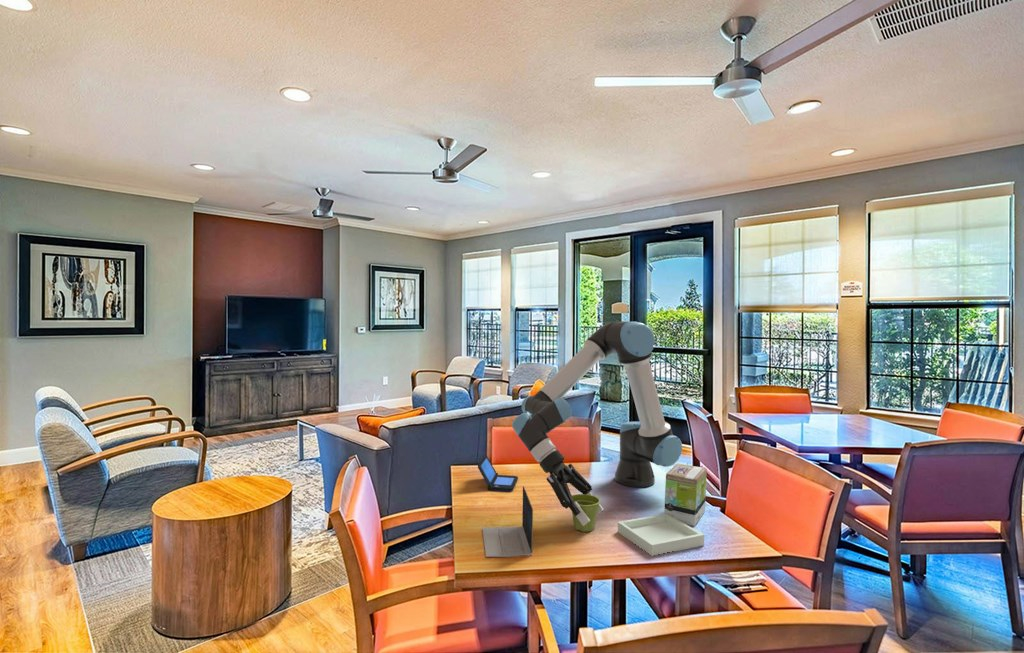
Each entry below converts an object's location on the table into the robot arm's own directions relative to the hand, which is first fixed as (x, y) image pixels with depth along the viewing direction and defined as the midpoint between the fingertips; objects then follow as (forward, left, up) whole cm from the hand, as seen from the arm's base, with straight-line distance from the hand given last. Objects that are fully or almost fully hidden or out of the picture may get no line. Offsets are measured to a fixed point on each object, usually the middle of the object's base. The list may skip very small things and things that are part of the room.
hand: (593, 517), depth 149 cm
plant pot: (+2, -3, -4) cm, 5 cm away
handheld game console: (+12, -48, -4) cm, 50 cm away
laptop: (+27, -2, -4) cm, 28 cm away
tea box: (-34, 0, -4) cm, 34 cm away
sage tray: (-15, +11, -4) cm, 19 cm away
